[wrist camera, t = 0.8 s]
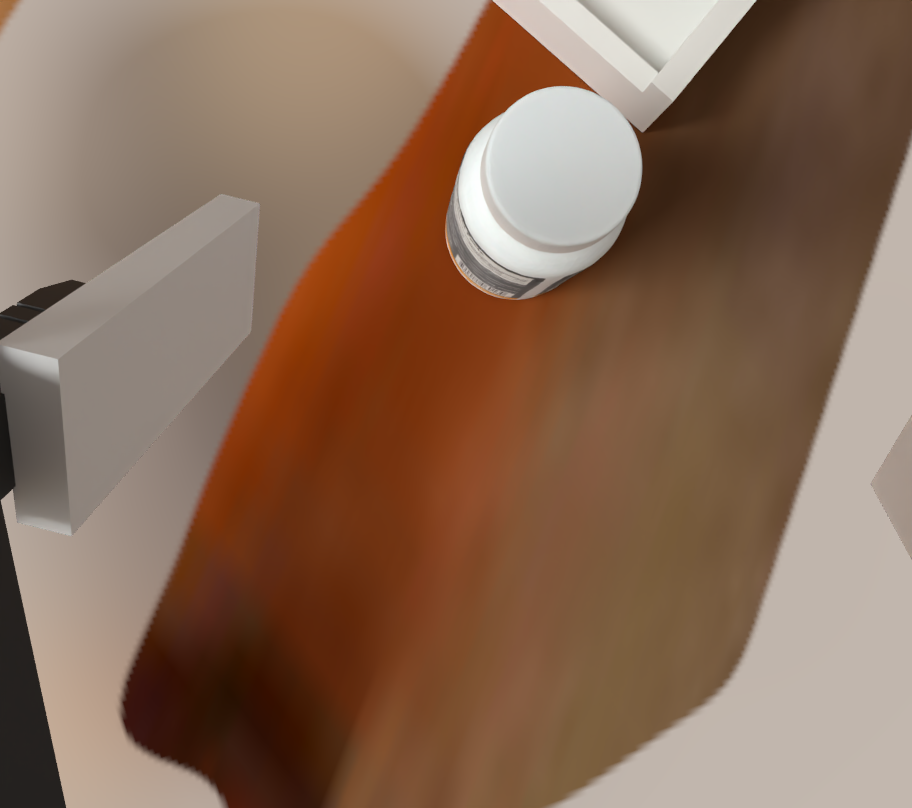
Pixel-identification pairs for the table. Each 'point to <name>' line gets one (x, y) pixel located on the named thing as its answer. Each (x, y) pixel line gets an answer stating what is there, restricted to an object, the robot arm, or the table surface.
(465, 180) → the pill bottle
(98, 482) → the robot arm
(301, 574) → the table surface
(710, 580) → the table surface
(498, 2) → the pusher lane
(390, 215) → the table surface
